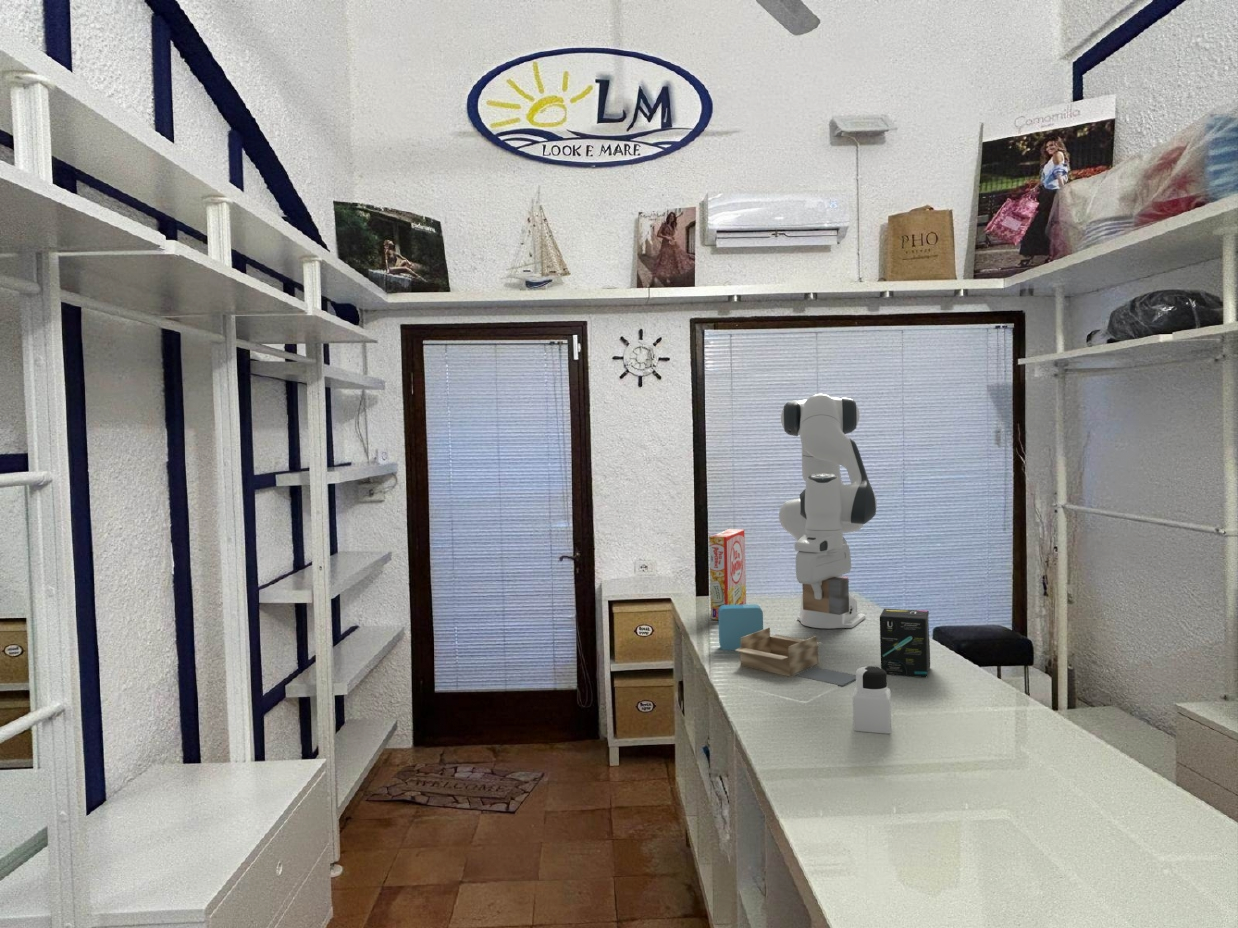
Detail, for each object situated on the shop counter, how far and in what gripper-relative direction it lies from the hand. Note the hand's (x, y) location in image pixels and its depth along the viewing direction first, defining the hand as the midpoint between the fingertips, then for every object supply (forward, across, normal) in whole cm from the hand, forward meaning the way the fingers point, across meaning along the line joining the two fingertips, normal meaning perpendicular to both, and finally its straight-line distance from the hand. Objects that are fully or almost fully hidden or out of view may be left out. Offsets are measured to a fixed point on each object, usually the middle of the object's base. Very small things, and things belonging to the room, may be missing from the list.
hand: (825, 596), depth 198 cm
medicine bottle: (+20, +23, +24) cm, 39 cm away
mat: (+20, 0, 0) cm, 20 cm away
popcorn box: (+20, -40, -60) cm, 74 cm away
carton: (+20, -1, -14) cm, 25 cm away
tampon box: (+20, -16, +12) cm, 29 cm away
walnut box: (+3, 0, 0) cm, 3 cm away
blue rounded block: (+20, -8, -32) cm, 38 cm away
